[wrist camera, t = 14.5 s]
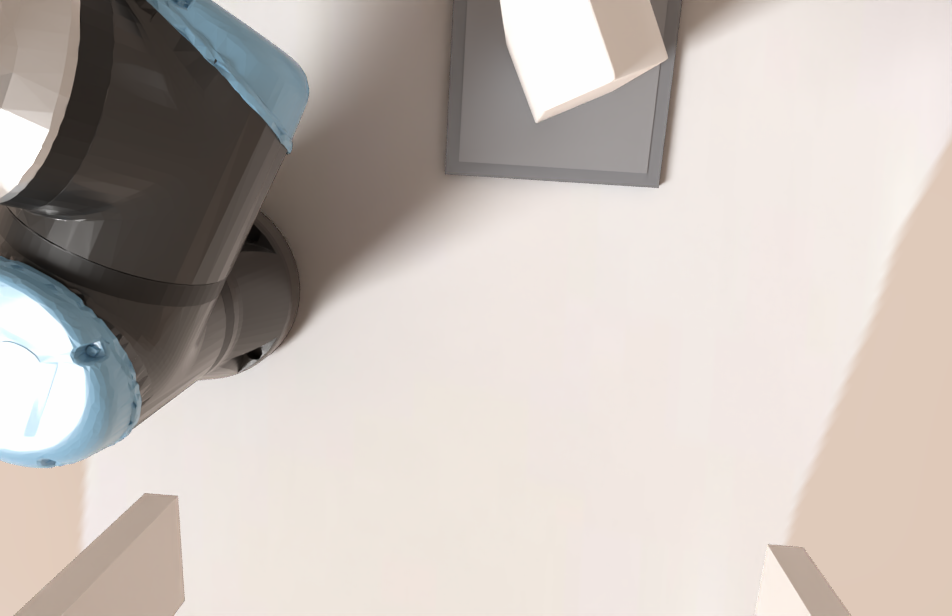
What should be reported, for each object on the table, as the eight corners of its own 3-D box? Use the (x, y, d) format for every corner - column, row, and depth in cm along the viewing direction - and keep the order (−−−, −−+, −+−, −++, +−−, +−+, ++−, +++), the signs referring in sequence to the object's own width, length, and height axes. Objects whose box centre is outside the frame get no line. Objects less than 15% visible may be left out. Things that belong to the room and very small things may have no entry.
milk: (584, 9, 47) (641, -109, 25) (613, 92, 48) (690, 47, 26) (503, 45, 47) (492, -41, 26) (534, 126, 49) (547, 107, 27)
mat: (446, 173, 51) (444, 174, 50) (457, -56, 47) (456, -60, 46) (656, 187, 50) (658, 188, 49) (685, -45, 46) (688, -49, 45)
